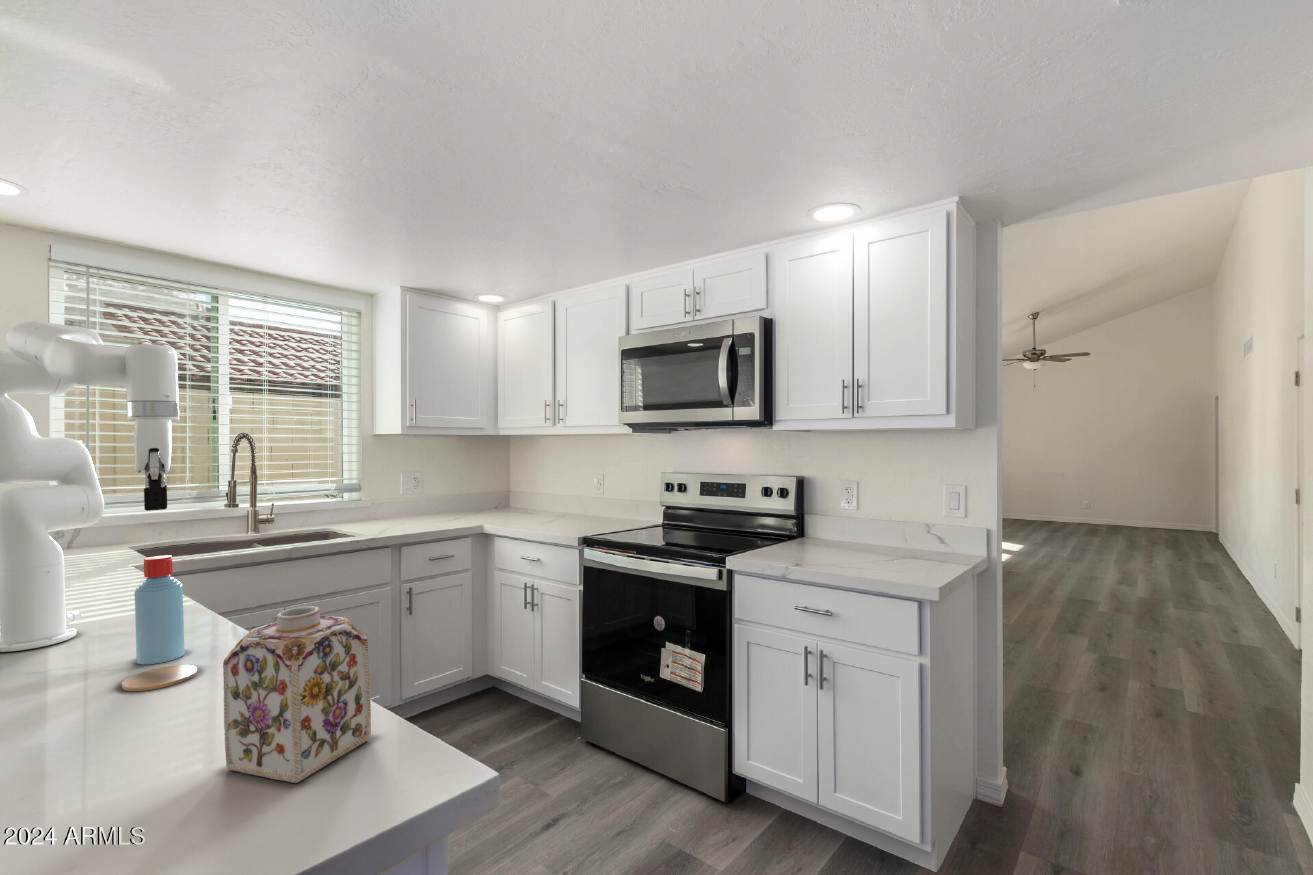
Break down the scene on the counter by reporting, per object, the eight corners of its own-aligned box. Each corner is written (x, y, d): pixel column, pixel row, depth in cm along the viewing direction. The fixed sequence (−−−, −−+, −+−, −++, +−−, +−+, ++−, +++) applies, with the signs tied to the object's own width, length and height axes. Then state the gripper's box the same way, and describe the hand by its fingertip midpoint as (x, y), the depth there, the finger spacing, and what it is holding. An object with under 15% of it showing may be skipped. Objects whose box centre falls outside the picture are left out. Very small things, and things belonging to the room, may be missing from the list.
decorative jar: (374, 739, 83) (370, 601, 83) (297, 786, 72) (293, 627, 72) (304, 727, 87) (300, 596, 87) (221, 770, 76) (217, 620, 76)
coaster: (147, 670, 111) (147, 667, 111) (209, 666, 112) (209, 662, 112) (106, 693, 101) (105, 689, 101) (174, 688, 102) (174, 684, 102)
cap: (153, 573, 119) (153, 555, 119) (177, 572, 120) (176, 554, 120) (138, 578, 115) (138, 560, 115) (163, 576, 116) (162, 558, 116)
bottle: (152, 652, 121) (149, 557, 121) (192, 650, 122) (189, 556, 122) (127, 665, 114) (123, 565, 114) (169, 662, 115) (166, 563, 115)
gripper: (129, 414, 122) (132, 506, 122) (124, 410, 108) (127, 514, 108) (178, 414, 127) (181, 503, 127) (179, 410, 113) (182, 510, 113)
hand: (156, 507), depth 118 cm, fingers open, 7 cm apart
